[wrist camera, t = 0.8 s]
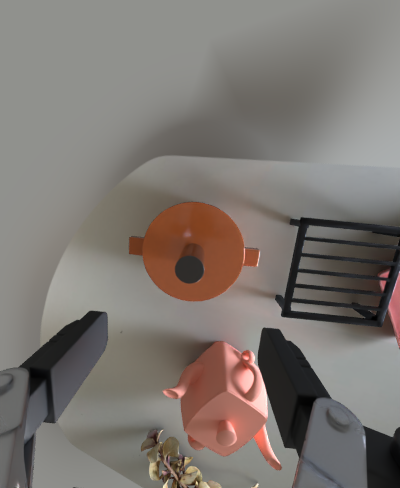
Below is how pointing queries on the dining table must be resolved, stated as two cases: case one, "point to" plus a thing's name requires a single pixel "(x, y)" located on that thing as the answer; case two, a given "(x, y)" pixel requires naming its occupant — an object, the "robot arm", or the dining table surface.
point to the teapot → (224, 402)
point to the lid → (193, 251)
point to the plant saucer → (393, 303)
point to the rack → (341, 274)
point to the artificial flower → (173, 464)
